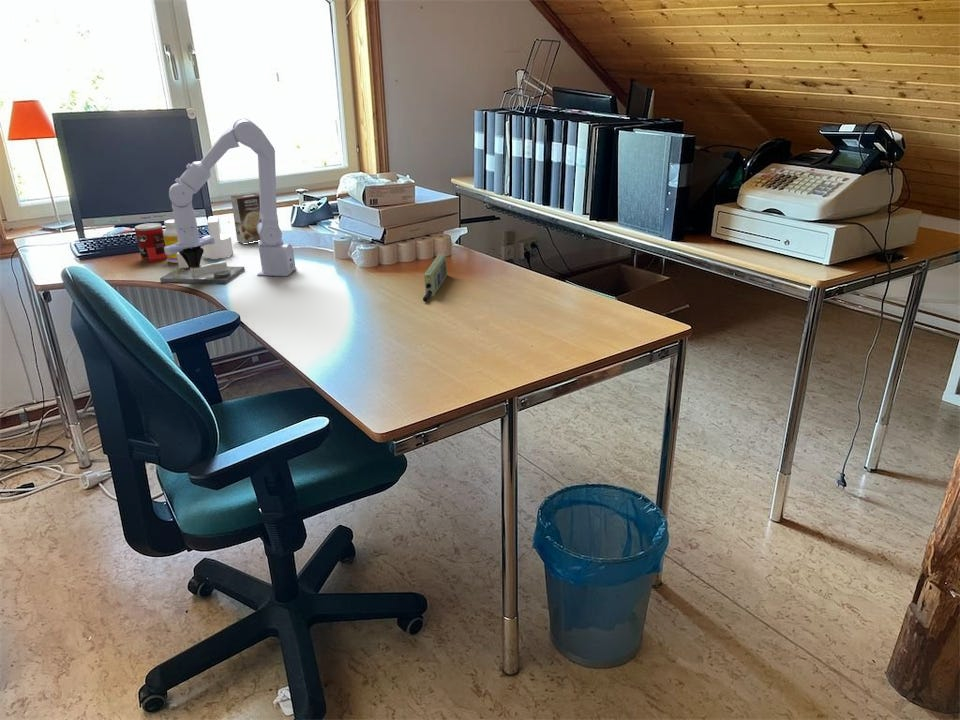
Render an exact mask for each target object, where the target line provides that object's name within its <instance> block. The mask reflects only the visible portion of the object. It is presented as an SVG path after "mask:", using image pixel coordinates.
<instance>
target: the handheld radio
mask: <svg viewBox="0 0 960 720" xmlns="http://www.w3.org/2000/svg"><path fill="white" fill-rule="evenodd" d="M446 256H447V255H446V253H445V254H444V253H443V254H440V253H439V254H437V256H436V257H435V258H434V260H433V262H432V263H431V264H430V266H429V267H428V268H427V269H426V271H425V272H424V275H423V276H424V285H425V286H424V288H425V295H424V296H423V297H422V301H423V302H424V303H427V302H428V301H429V299H430V297H435V296H436V294H437V292H438V291H439V289H440V287H441V286H442V284H443V283H444V282H445V280H446V278H447V276H448V270H447V269H448V267H447V257H446Z"/></svg>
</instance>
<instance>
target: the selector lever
mask: <svg viewBox="0 0 960 720" xmlns="http://www.w3.org/2000/svg"><path fill="white" fill-rule="evenodd" d="M227 266H228V263H227V261H225V260H222V261H218V262H213V263H207V264H203V265H200V266H197V267H195V266H194V267H190V270H191V275H192V277H193V278H197V277H201V276H206V275H211V274H213V275H214V276H225V275H229V274H230V273H231V272H230V270H228V269H227Z"/></svg>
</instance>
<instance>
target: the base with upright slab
mask: <svg viewBox="0 0 960 720" xmlns="http://www.w3.org/2000/svg"><path fill="white" fill-rule="evenodd" d="M207 228H208V233H209V235H205V236H203V237H202V238H204V237H214V241H215V244H209V245H205V246H202V248H203V250H204V252H203V254H204V258H205V259H207V258H210V259H209V260H219V259H218V258H222V259H225V258H224V257H227V258H229V257H228V256H230V257H232V256H233V255H234V250H233V243H232V242H233V241H232V236H231V235H230V234H226V233H222V230H221V224H220V219H219V215H211V216H208V217H207ZM232 254H233V255H232ZM231 255H232V256H231ZM211 258H212V259H211Z"/></svg>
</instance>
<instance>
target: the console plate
mask: <svg viewBox="0 0 960 720" xmlns="http://www.w3.org/2000/svg"><path fill="white" fill-rule="evenodd" d="M245 268H246V267H245V266H228V265H227V269H228V270H230V272H231V273H230V274H229V275H225V276H214V275H213V274H211V275H206V276H201V277H197V278H193V277H192V275H191V271H190V269H189V267H188V268H179V267H177V268H175V269H174V270H172V271H170V272H168V273H167V274H165V275H164V276H161V277H160V278H159V280H160V283H171V282H178V283H180V284H213V285H214V284H215V285H216V284H218V285H223V284H224V285H226V284H228V283H229V282H231V281H233V280H234V279H235V278H237V277H238V276H240V275H241V274H243V273H244V272H245V271H246V270H245ZM178 283H177V284H178Z"/></svg>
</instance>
